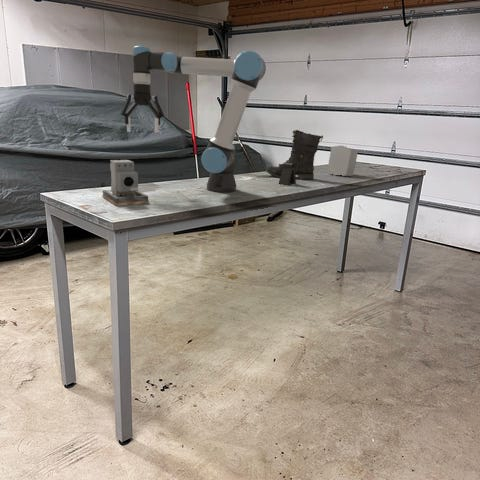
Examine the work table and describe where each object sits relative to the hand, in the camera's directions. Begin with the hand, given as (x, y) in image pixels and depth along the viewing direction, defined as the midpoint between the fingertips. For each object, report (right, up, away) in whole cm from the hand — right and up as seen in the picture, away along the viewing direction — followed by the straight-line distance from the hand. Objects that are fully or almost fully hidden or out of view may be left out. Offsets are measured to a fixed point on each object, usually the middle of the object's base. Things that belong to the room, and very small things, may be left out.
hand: (143, 132), depth 193 cm
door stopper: (+72, -19, +41) cm, 85 cm away
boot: (+77, -12, +65) cm, 102 cm away
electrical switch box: (+115, -7, +87) cm, 145 cm away
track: (-3, -34, -18) cm, 39 cm away
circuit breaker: (-3, -33, -19) cm, 38 cm away
